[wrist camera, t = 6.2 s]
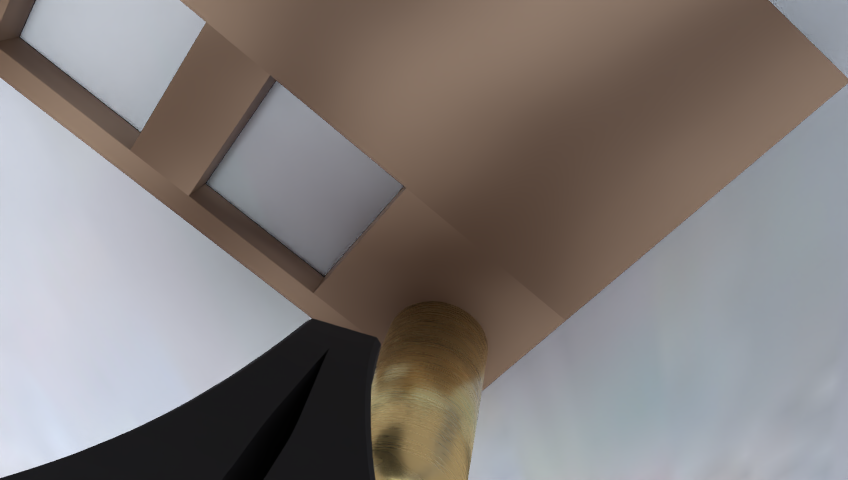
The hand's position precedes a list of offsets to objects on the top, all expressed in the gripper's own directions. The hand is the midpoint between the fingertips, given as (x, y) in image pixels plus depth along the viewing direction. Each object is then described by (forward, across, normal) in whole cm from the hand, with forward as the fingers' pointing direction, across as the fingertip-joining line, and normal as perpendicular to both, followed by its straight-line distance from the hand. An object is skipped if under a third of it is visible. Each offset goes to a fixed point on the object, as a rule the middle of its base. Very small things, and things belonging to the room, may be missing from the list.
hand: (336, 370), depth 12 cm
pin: (+6, -2, +4) cm, 8 cm away
